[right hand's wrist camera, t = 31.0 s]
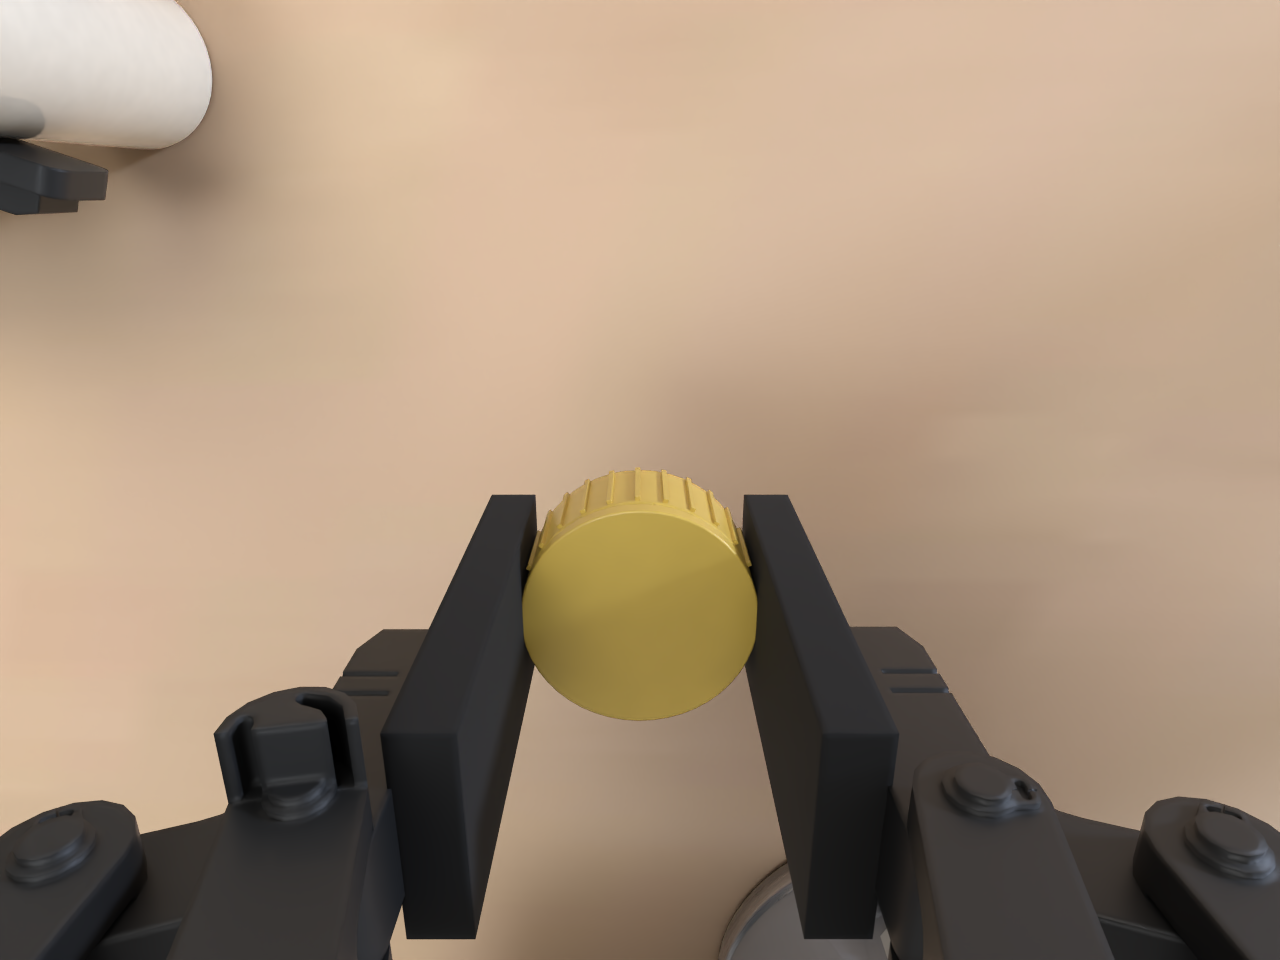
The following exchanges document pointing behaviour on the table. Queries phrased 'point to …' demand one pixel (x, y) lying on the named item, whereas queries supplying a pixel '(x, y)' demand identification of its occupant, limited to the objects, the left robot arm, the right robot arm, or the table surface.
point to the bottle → (101, 72)
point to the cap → (639, 596)
